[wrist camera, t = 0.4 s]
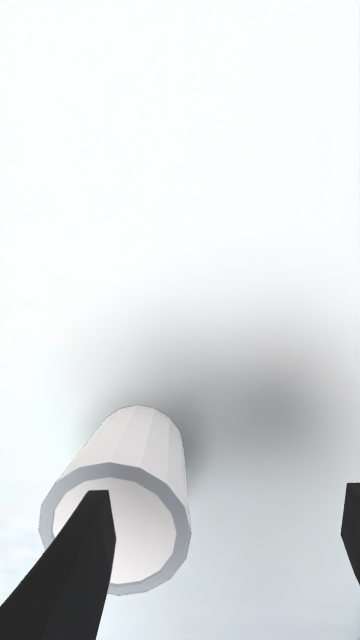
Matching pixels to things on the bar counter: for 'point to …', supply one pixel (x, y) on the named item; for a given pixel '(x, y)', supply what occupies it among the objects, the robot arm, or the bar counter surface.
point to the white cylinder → (131, 496)
